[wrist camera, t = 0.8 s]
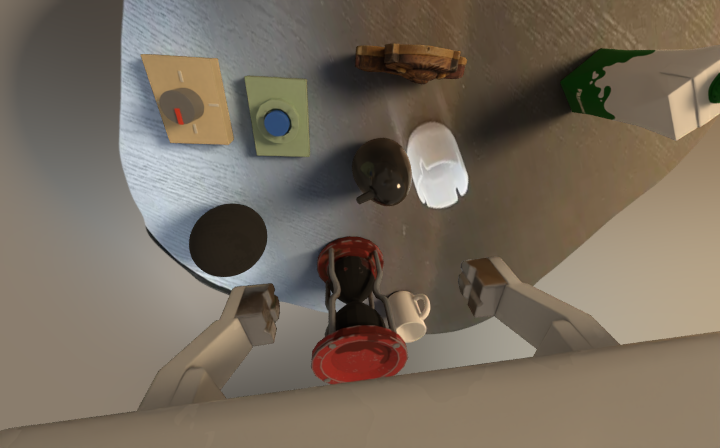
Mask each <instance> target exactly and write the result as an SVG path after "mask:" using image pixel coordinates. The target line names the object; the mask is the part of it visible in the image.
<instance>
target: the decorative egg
mask: <svg viewBox="0 0 720 448" xmlns="http://www.w3.org/2000/svg"><path fill="white" fill-rule="evenodd" d="M266 243H267V229H266V226H265V223H264V221H263V219H262V218H261V217H260V215H259V214H258V213H257V212H256V211H254V210H253V209H251V208H249V207H247V206H244V205H241V204H224V205H220V206H217V207H215V208H213V209H211V210H209V211H208V212H206V213H205V214H204V215H203V216H201V217H200V218H199V220H198V221H197V222H196V224H195V225H194V227H193V229H192V231H191V234H190V239H189V250H190V254H191V257H192V259H193V261H194V262H195V264H196V265H197V266H198V267H199V268H200V269H201V270H202V271H204V272H206V273H208V274H210V275H213V276H217V277H230V276H235V275H238V274H241V273H243V272H245V271H247V270H248V269H250V268H251V267H252V266H253V265H255V264H256V262H257V261H258V260H259V259H260V257H261V256H262V254H263V252H264V250H265V247H266Z"/></svg>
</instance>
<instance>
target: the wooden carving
mask: <svg viewBox="0 0 720 448" xmlns="http://www.w3.org/2000/svg"><path fill="white" fill-rule="evenodd" d="M460 53H461V52H460V51H453V50H449V49H445V48H439V47H433V46H424V45H400V44H386V45H385V47H377V46H357V47H356V57H355V67H357V68H358V69H361V70H364V71H368V72H386V73H390V74H396V75H401V76H402V77H405V78H406V79H409V80H410V81H412V82H414V83H418V84H425V83H427V82H428V81H430V80H433V79H435V78H436V79H442V78H445V79H457V78H461V77H462V76H463V74H464V68H465V65H466V63H467V60H466V58H464V57H460Z"/></svg>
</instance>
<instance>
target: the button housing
mask: <svg viewBox="0 0 720 448" xmlns="http://www.w3.org/2000/svg"><path fill="white" fill-rule="evenodd" d="M244 78H245V84H246V91H247V97H248V103H249V109H250V115H251V122H252V128H253V134H254V140H255V147H256V153H257V155H258V156H299V157H309V156H310V140H309V118H308V97H307V79H299V78H282V77H265V76H245V77H244ZM273 110H279V111H282V112H284V113H285V114H286V115H287V116H288V118H289V121H290V126H289V129H288V131H287V132H286V134H285V135H283V136H279V137H277V136H273V135H271V134H270V133H269V132H268V131H267V130H266V128H265V125H264V120H265V117H266V116H267V115H268V114H269V113H270V112H271V111H273Z"/></svg>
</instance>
